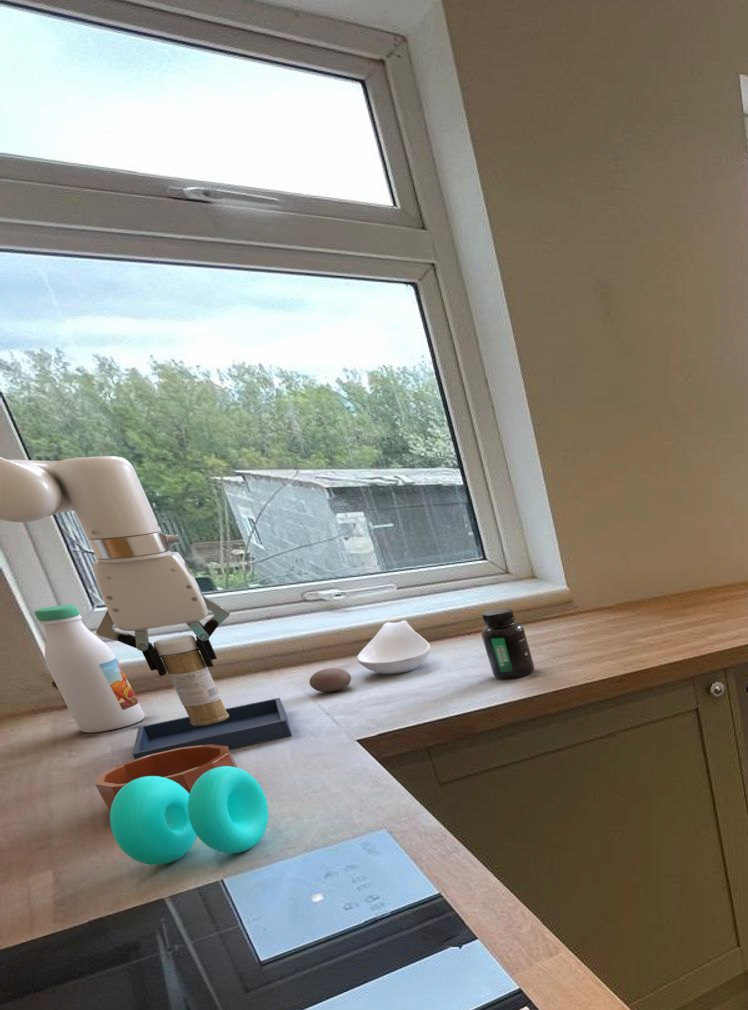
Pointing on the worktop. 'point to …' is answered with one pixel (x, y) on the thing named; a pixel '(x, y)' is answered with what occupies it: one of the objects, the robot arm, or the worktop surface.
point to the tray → (217, 730)
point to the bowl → (165, 768)
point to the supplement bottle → (506, 645)
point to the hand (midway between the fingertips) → (186, 668)
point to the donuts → (188, 815)
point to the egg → (330, 680)
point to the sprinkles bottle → (191, 679)
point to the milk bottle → (87, 672)
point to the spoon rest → (394, 649)
